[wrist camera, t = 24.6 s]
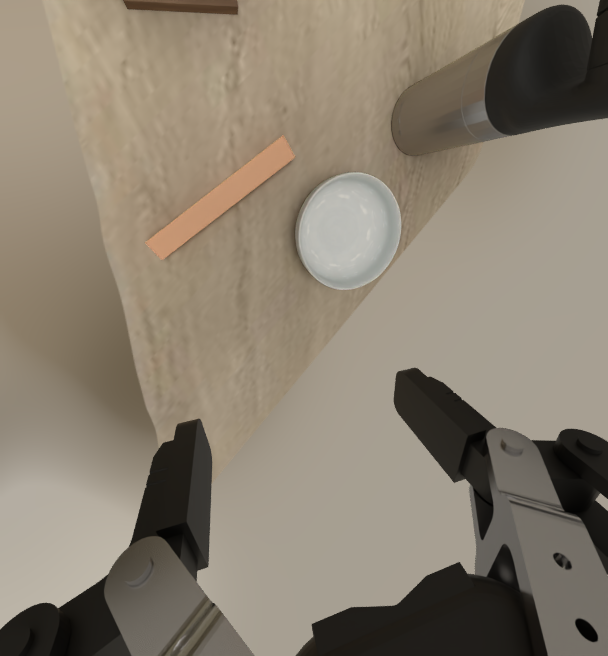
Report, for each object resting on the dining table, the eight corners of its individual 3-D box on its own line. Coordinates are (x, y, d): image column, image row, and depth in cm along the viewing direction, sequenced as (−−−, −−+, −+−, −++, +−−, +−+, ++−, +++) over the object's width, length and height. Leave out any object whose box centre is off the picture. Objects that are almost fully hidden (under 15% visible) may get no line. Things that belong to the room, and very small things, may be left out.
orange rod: (165, 256, 42) (162, 260, 39) (149, 239, 40) (144, 242, 38) (290, 159, 41) (295, 157, 38) (279, 139, 39) (283, 135, 37)
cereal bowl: (272, 198, 42) (280, 199, 36) (367, 158, 43) (391, 152, 37) (308, 293, 50) (319, 307, 44) (387, 257, 52) (409, 266, 45)
